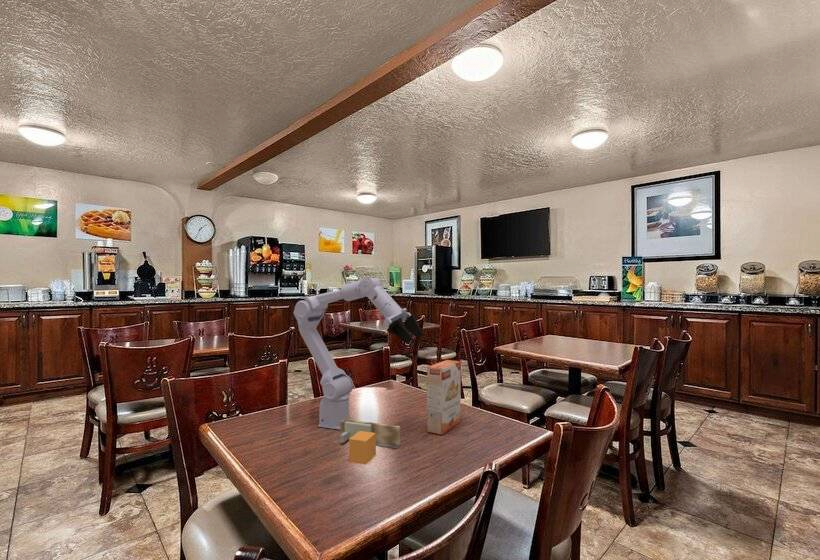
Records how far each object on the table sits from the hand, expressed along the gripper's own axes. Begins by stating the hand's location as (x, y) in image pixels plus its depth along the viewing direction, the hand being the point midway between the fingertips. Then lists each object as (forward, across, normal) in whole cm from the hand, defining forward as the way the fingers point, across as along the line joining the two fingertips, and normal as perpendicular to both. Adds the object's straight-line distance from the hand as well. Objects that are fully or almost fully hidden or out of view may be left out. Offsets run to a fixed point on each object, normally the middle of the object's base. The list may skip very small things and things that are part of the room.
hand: (415, 338), depth 117 cm
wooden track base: (+13, -10, +29) cm, 33 cm away
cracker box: (+25, +11, +19) cm, 33 cm away
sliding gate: (+10, -13, +31) cm, 35 cm away
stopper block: (+16, -19, +26) cm, 36 cm away
